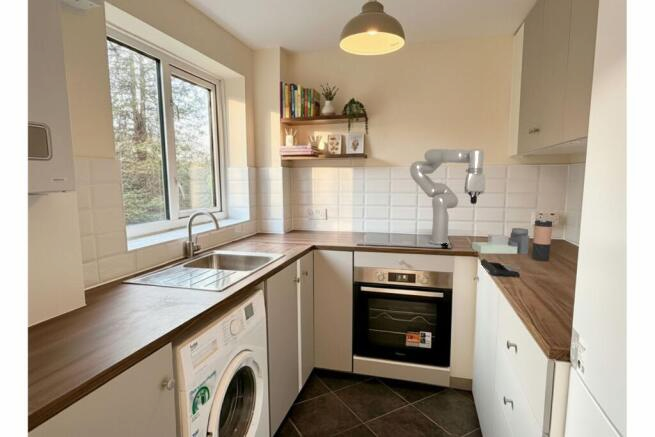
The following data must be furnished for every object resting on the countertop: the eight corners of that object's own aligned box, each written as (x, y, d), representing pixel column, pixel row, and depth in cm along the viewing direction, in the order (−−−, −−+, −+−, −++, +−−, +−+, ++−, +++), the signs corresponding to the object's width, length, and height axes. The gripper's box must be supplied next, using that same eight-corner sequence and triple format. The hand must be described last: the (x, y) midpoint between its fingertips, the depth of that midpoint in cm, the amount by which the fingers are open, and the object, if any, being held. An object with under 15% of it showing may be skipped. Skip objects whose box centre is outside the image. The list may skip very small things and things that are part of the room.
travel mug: (540, 261, 168) (544, 222, 166) (528, 258, 176) (531, 220, 173) (552, 260, 170) (556, 221, 168) (539, 257, 178) (542, 220, 175)
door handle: (514, 261, 159) (478, 258, 162) (530, 273, 139) (489, 269, 142) (513, 268, 159) (477, 264, 162) (529, 281, 140) (488, 276, 143)
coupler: (472, 248, 198) (473, 227, 197) (519, 249, 198) (521, 227, 196) (480, 253, 186) (482, 230, 185) (531, 253, 186) (533, 230, 184)
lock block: (487, 243, 195) (488, 234, 194) (504, 243, 194) (504, 235, 193) (491, 245, 189) (491, 236, 189) (508, 245, 188) (508, 236, 187)
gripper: (464, 171, 186) (462, 204, 189) (491, 171, 186) (489, 204, 188) (459, 171, 194) (457, 203, 196) (485, 171, 193) (483, 203, 196)
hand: (473, 203), depth 192 cm, fingers closed
